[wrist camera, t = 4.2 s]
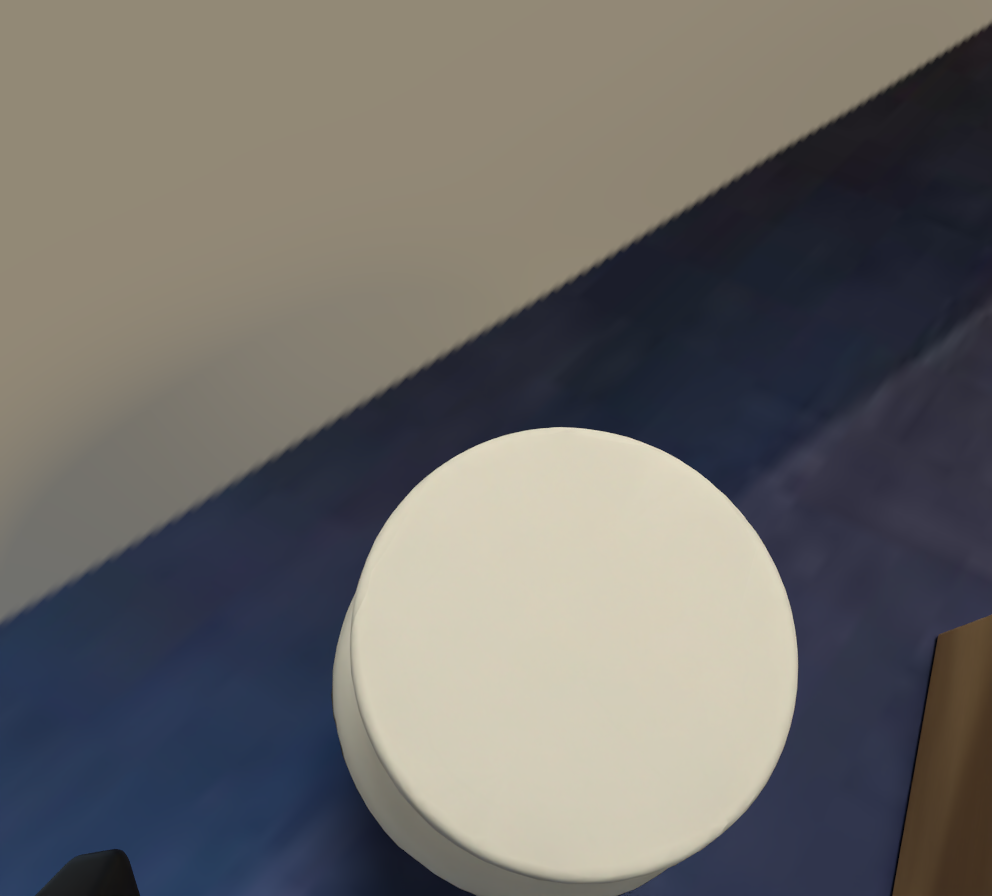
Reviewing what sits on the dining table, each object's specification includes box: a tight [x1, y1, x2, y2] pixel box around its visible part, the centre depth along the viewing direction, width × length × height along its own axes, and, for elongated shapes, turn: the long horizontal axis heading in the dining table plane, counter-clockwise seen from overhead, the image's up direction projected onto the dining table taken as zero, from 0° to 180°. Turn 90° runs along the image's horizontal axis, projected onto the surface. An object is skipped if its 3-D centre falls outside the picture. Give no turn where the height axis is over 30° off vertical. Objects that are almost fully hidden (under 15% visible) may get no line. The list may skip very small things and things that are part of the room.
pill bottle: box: [331, 427, 798, 896], centre depth 12 cm, size 6×6×10 cm
